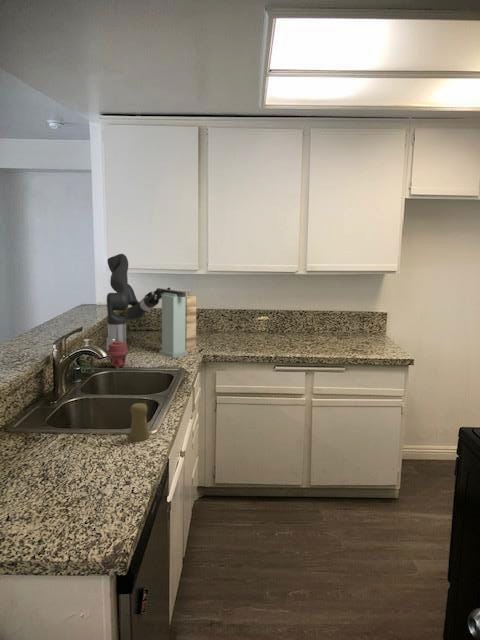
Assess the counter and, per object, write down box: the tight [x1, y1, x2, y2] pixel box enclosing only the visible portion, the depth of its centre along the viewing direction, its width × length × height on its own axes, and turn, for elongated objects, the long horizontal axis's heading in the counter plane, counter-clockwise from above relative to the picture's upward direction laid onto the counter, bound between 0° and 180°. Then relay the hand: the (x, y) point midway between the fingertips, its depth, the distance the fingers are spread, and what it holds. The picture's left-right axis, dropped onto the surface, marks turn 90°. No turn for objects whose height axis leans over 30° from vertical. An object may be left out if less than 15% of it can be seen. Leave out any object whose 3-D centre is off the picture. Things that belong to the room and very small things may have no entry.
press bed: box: [185, 294, 197, 351], centre depth 273 cm, size 10×7×30 cm
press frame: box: [158, 293, 189, 359], centre depth 257 cm, size 12×10×33 cm
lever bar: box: [155, 287, 187, 297], centre depth 256 cm, size 22×2×2 cm, turn 46°
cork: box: [129, 402, 150, 443], centre depth 151 cm, size 6×6×11 cm
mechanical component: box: [106, 341, 129, 369], centre depth 232 cm, size 12×10×10 cm
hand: (165, 289), depth 259 cm, fingers open, 6 cm apart
